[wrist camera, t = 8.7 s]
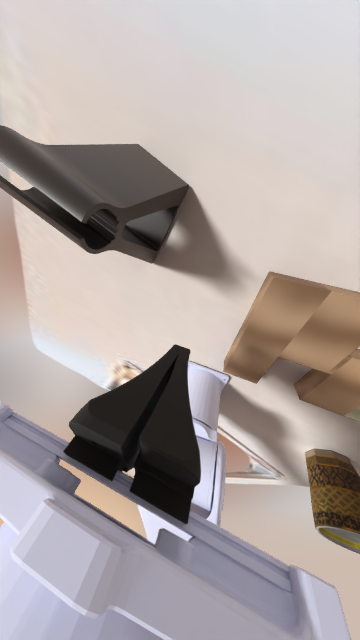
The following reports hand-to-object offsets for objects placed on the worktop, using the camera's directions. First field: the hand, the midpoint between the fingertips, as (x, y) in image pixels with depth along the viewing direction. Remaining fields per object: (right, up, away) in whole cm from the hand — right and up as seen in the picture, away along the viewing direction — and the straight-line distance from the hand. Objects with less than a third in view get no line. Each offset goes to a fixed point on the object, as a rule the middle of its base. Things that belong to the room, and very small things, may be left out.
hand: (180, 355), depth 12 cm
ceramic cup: (+31, -24, +16) cm, 42 cm away
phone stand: (-4, +15, +5) cm, 17 cm away
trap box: (+18, -1, +6) cm, 19 cm away
